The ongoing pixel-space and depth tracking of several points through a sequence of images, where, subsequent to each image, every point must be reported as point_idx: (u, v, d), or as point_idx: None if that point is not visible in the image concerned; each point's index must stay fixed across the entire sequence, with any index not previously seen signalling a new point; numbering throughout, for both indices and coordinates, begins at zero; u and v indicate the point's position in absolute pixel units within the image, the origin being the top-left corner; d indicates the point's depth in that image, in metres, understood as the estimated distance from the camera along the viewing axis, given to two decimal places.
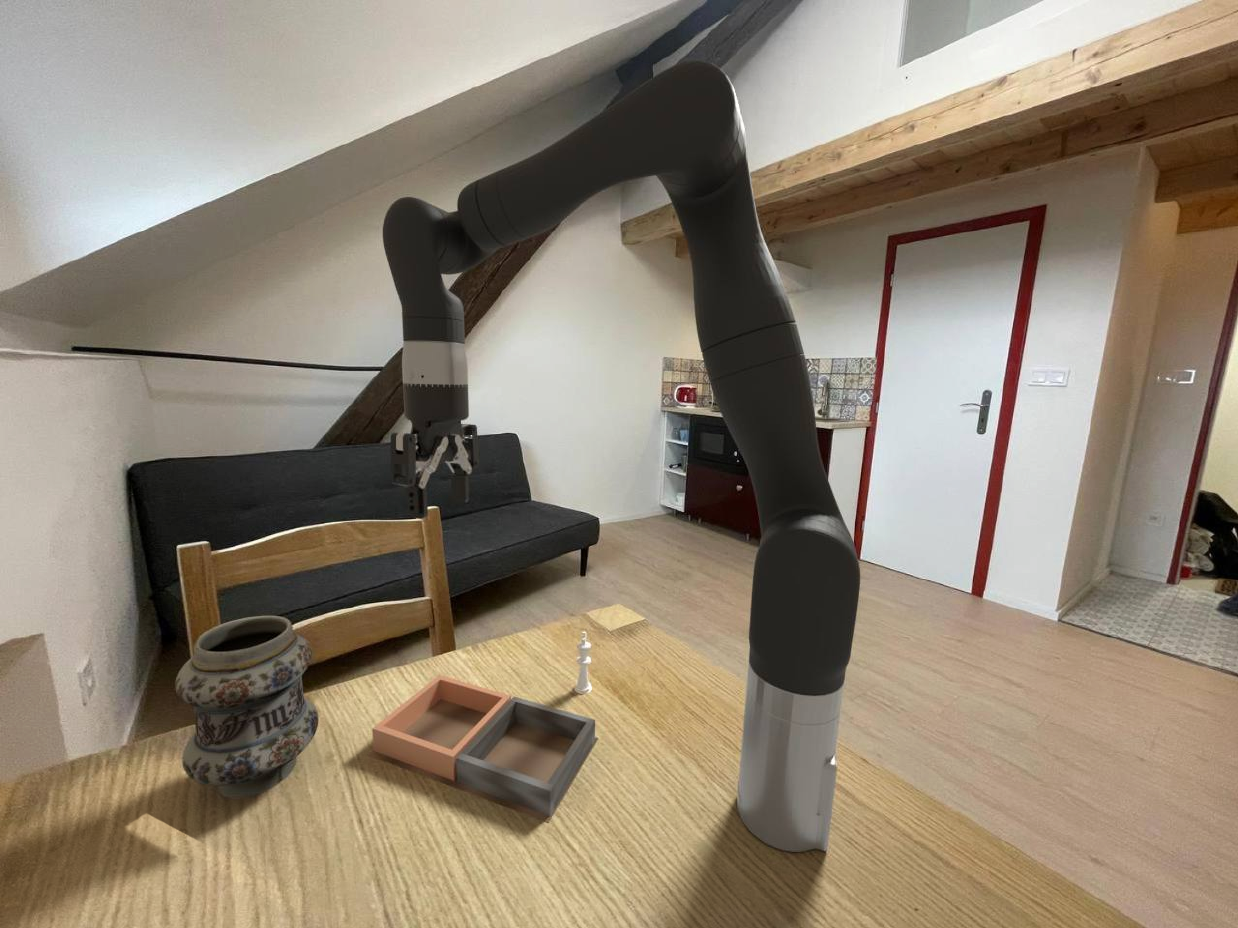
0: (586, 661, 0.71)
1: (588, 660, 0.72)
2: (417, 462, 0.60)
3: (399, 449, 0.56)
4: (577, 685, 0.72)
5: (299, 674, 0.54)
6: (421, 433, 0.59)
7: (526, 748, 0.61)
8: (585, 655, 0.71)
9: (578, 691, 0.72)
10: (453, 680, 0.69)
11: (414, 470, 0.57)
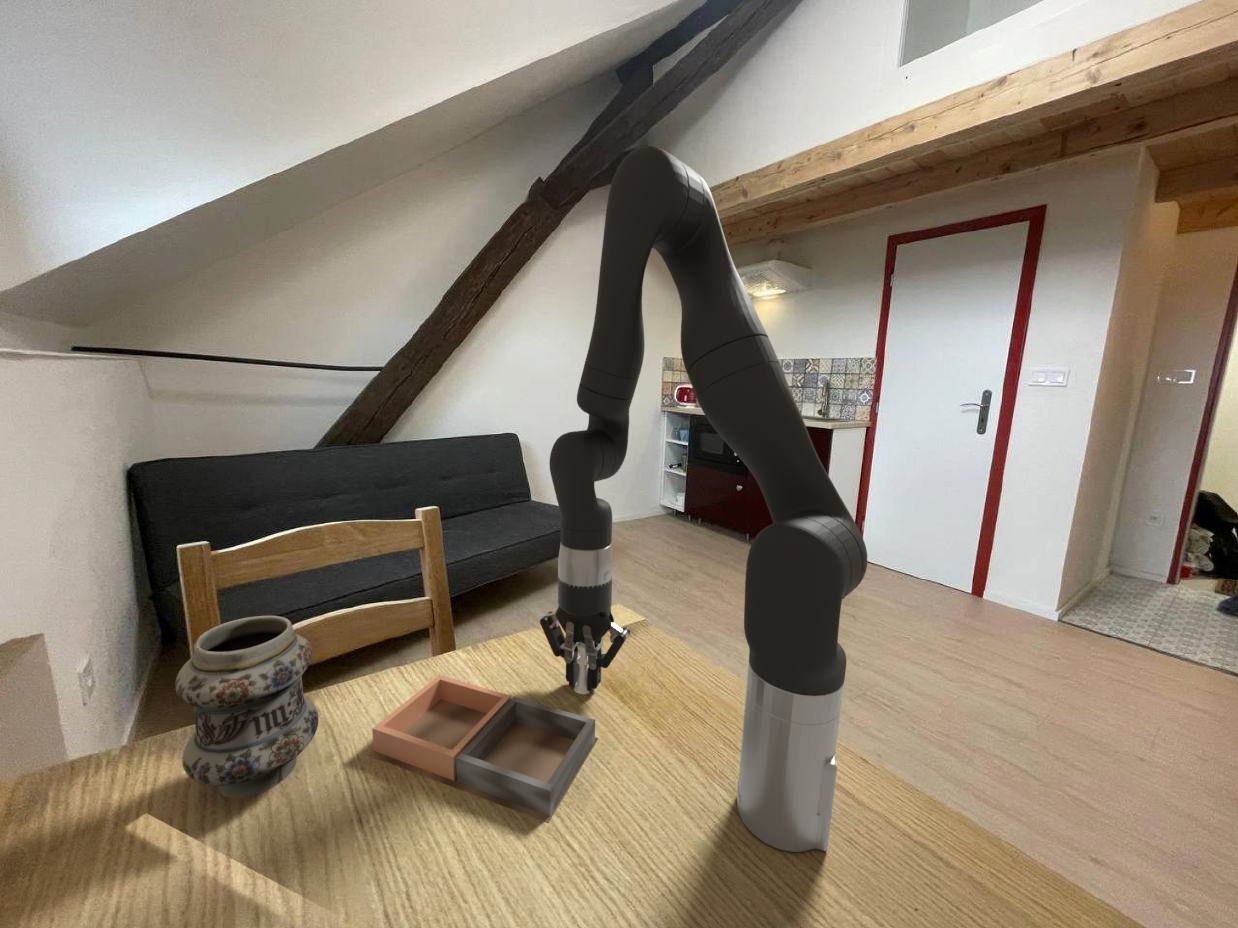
0: (586, 661, 0.71)
1: None
2: (597, 646, 0.71)
3: None
4: (577, 685, 0.72)
5: (299, 674, 0.54)
6: (613, 620, 0.70)
7: (526, 748, 0.61)
8: (585, 655, 0.71)
9: (578, 691, 0.72)
10: (453, 680, 0.69)
11: None
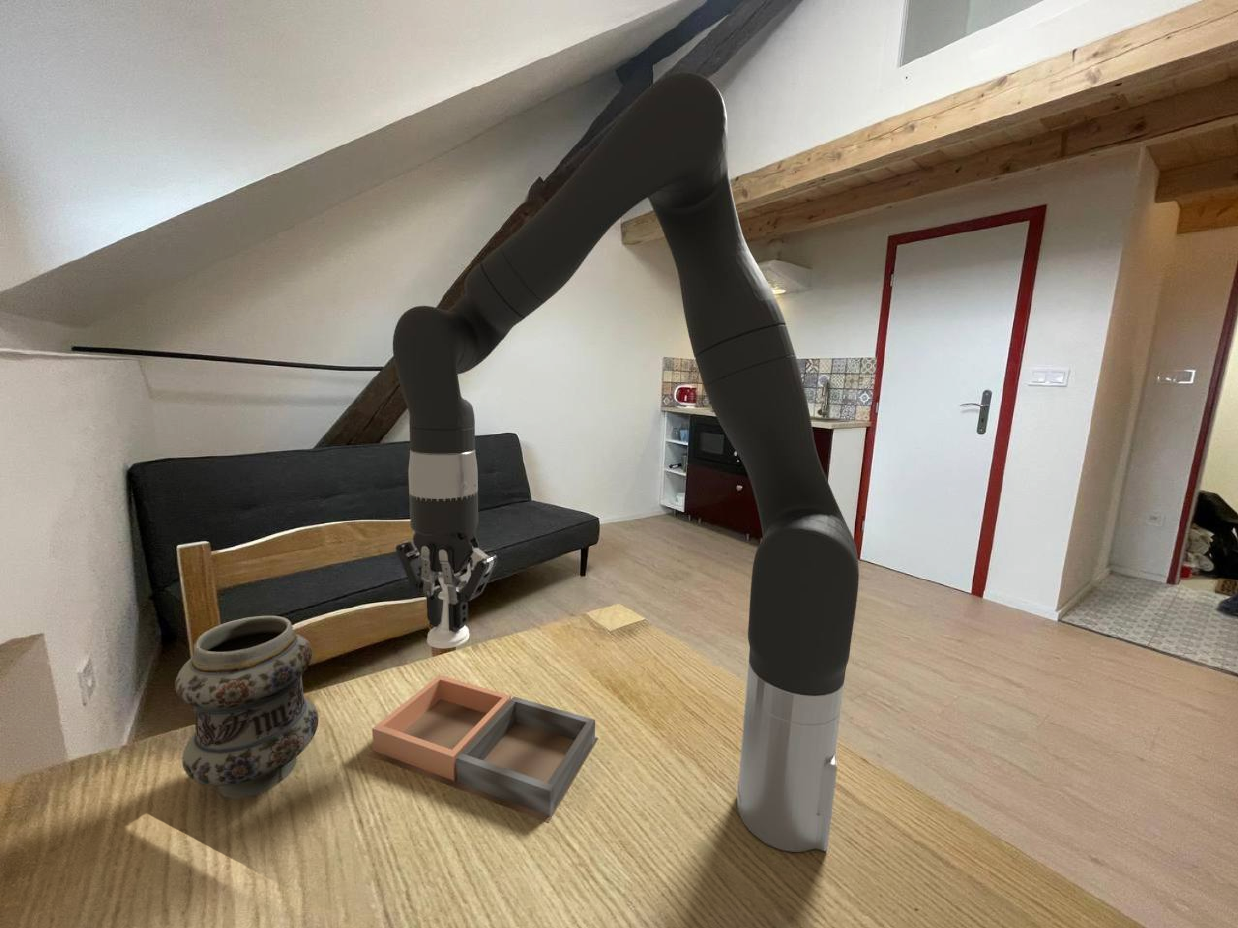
0: None
1: None
2: (460, 577, 0.59)
3: (486, 573, 0.58)
4: (440, 624, 0.61)
5: (299, 674, 0.54)
6: (478, 546, 0.58)
7: (526, 748, 0.61)
8: (447, 588, 0.60)
9: (440, 631, 0.60)
10: (453, 680, 0.69)
11: None
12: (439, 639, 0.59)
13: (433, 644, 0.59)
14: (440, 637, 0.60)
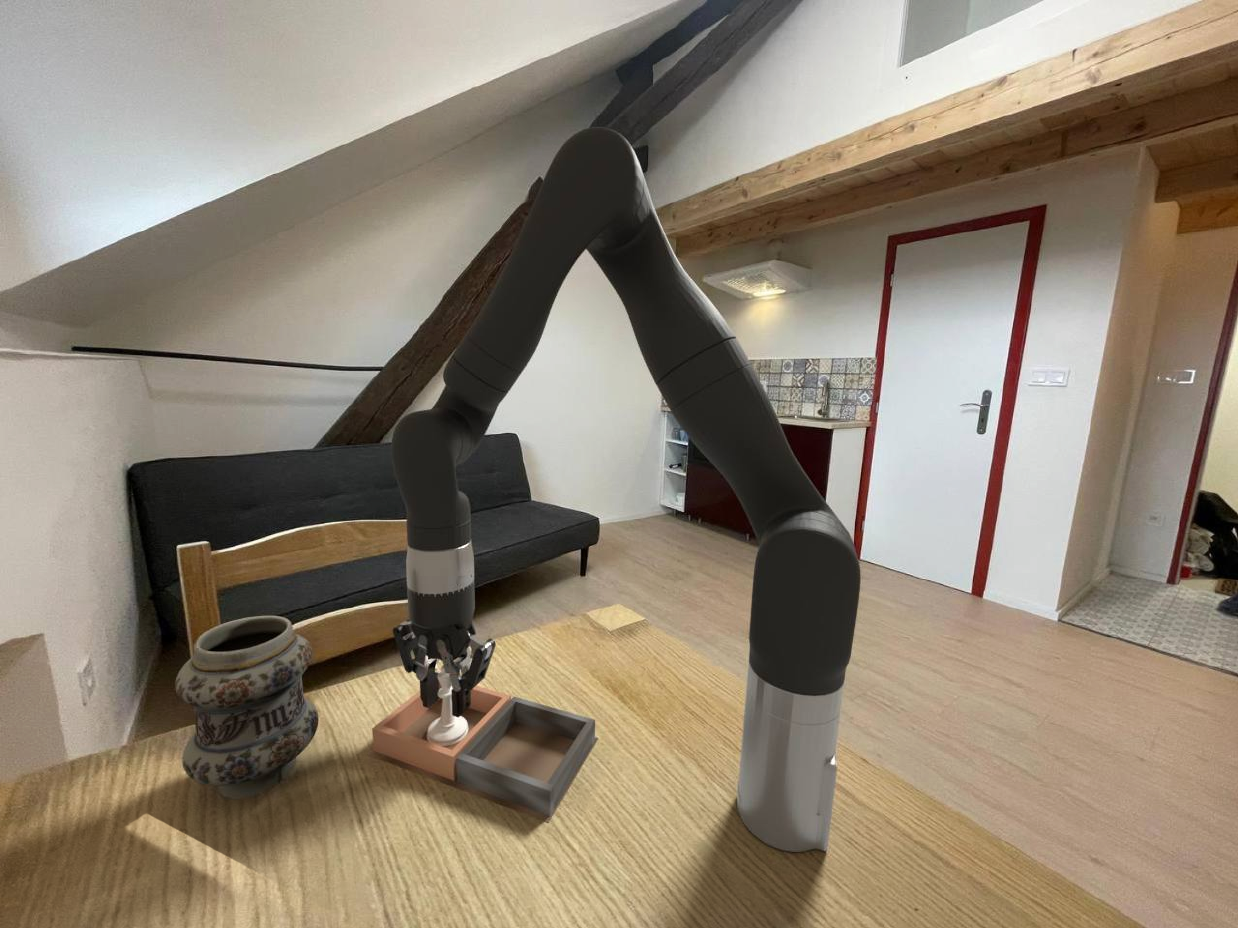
0: (448, 693, 0.61)
1: (451, 692, 0.62)
2: (461, 663, 0.60)
3: (485, 659, 0.59)
4: (440, 720, 0.62)
5: (299, 674, 0.54)
6: (475, 632, 0.60)
7: (526, 748, 0.61)
8: (446, 686, 0.61)
9: (440, 728, 0.62)
10: None
11: None
12: (439, 737, 0.61)
13: (433, 742, 0.61)
14: (439, 735, 0.61)
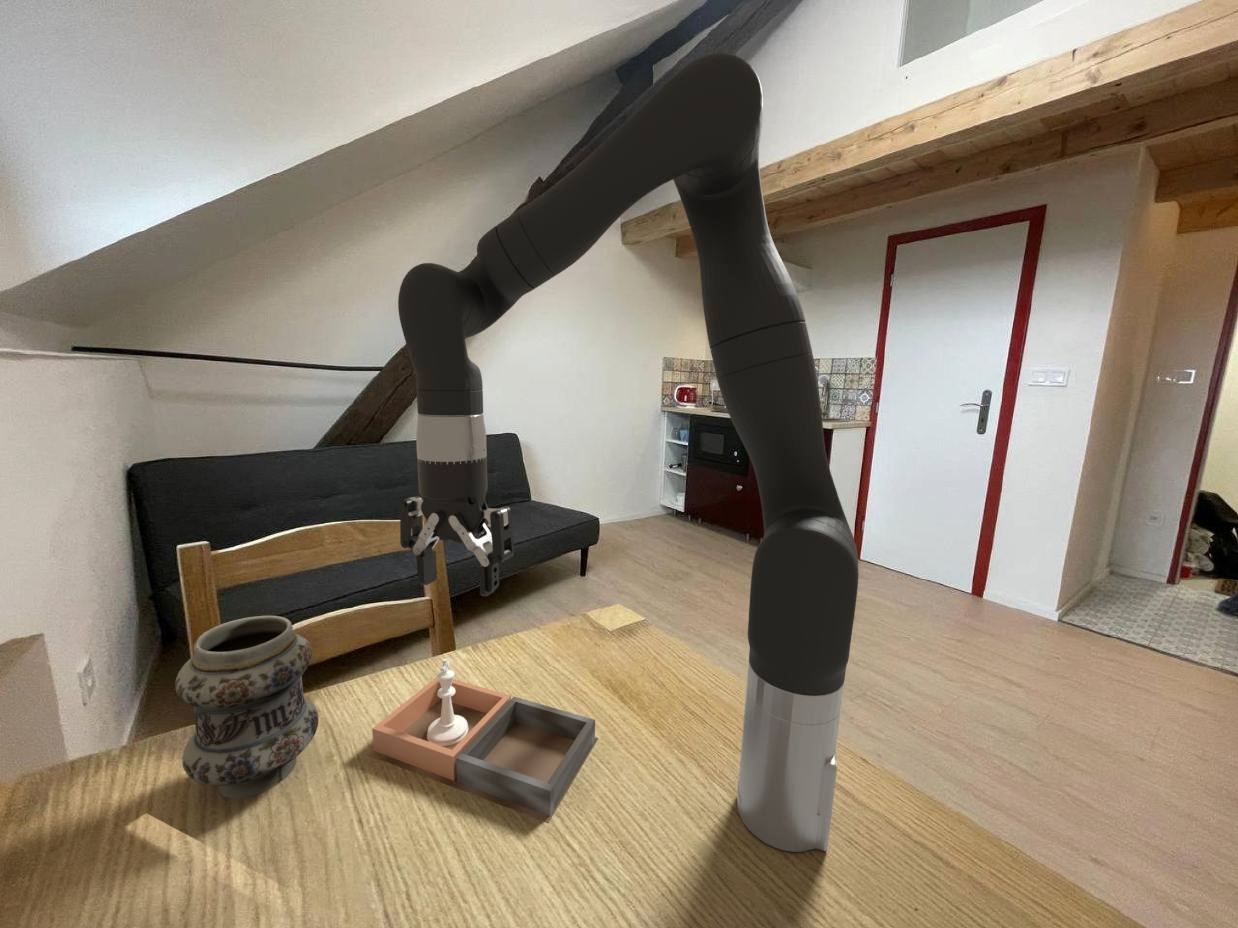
0: (448, 693, 0.61)
1: (451, 692, 0.62)
2: (482, 538, 0.57)
3: (505, 525, 0.56)
4: (440, 720, 0.62)
5: (299, 674, 0.54)
6: (487, 507, 0.57)
7: (526, 748, 0.61)
8: (446, 686, 0.61)
9: (440, 728, 0.62)
10: (453, 680, 0.69)
11: None
12: (438, 737, 0.61)
13: (433, 742, 0.61)
14: (439, 735, 0.61)
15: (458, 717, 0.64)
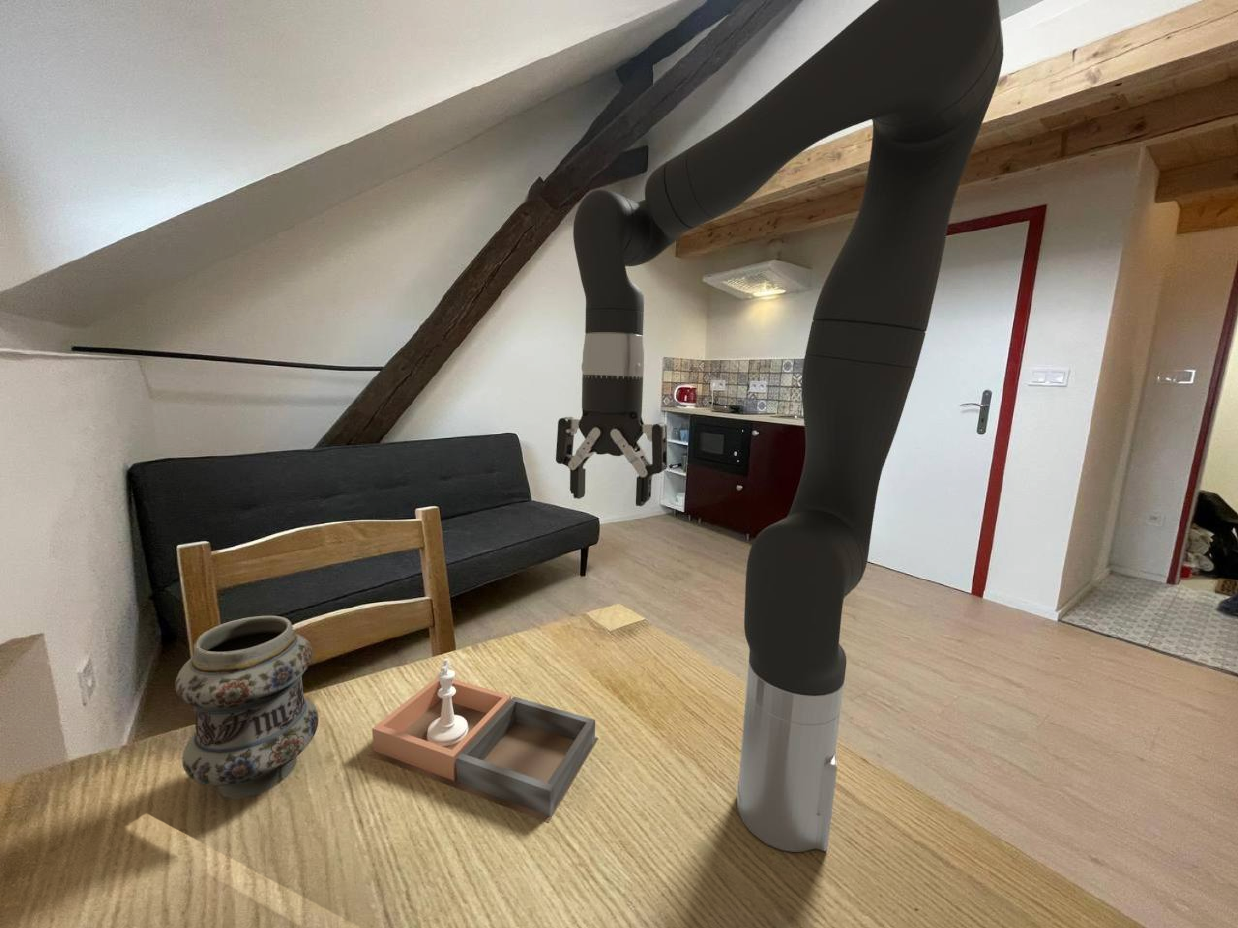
0: (448, 693, 0.61)
1: (451, 692, 0.62)
2: (638, 452, 0.62)
3: (663, 438, 0.61)
4: (440, 720, 0.62)
5: (299, 674, 0.54)
6: (643, 423, 0.62)
7: (526, 748, 0.61)
8: (447, 686, 0.61)
9: (440, 728, 0.62)
10: (453, 680, 0.69)
11: None
12: (438, 737, 0.61)
13: (433, 742, 0.61)
14: (439, 735, 0.61)
15: (458, 717, 0.64)
